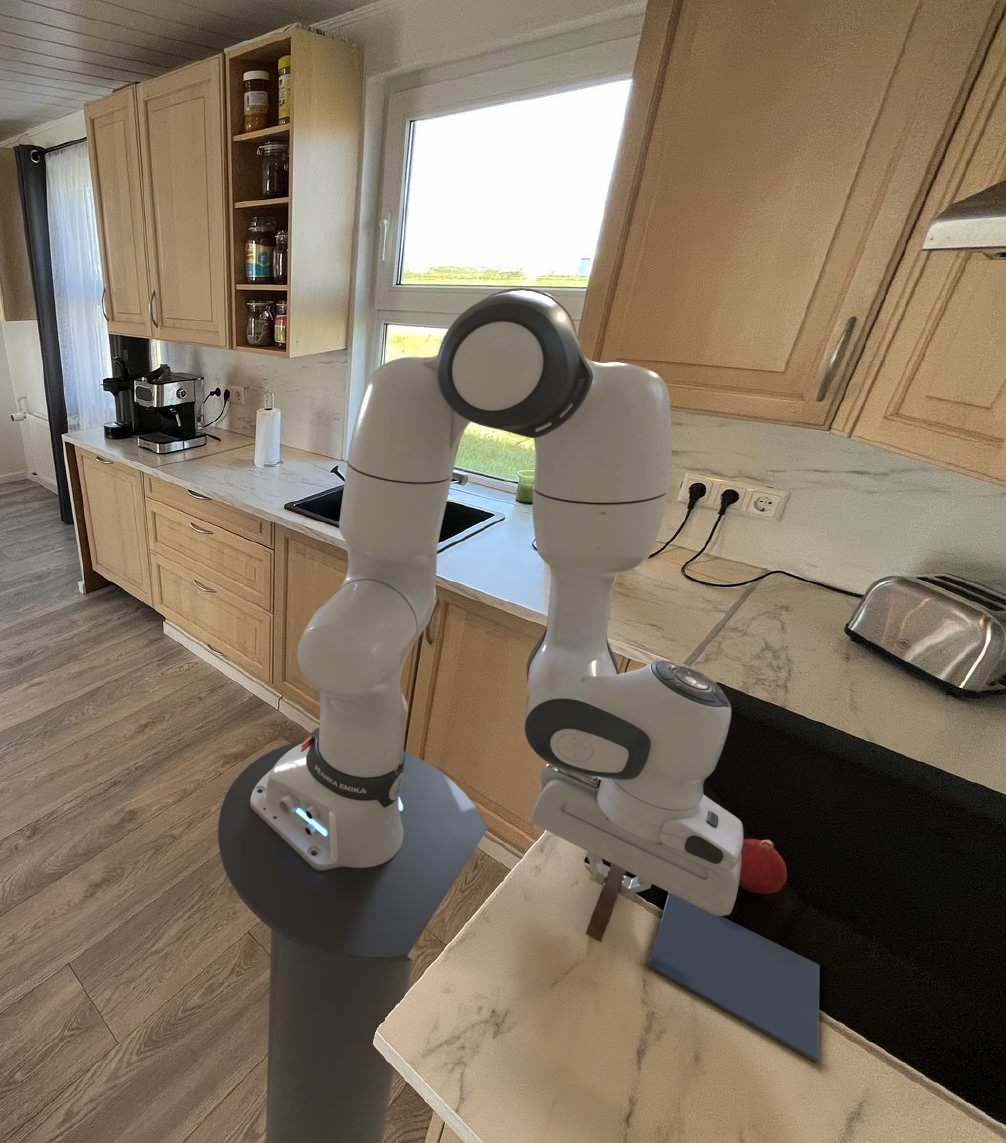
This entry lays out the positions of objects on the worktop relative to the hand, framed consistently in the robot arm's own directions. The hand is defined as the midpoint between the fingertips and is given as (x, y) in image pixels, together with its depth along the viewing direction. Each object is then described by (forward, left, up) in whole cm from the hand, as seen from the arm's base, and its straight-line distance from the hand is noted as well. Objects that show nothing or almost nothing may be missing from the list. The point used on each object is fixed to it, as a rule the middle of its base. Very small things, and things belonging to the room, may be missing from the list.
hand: (612, 886), depth 74 cm
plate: (+12, 0, -2) cm, 13 cm away
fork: (0, +4, -2) cm, 4 cm away
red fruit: (+12, +13, -3) cm, 18 cm away
